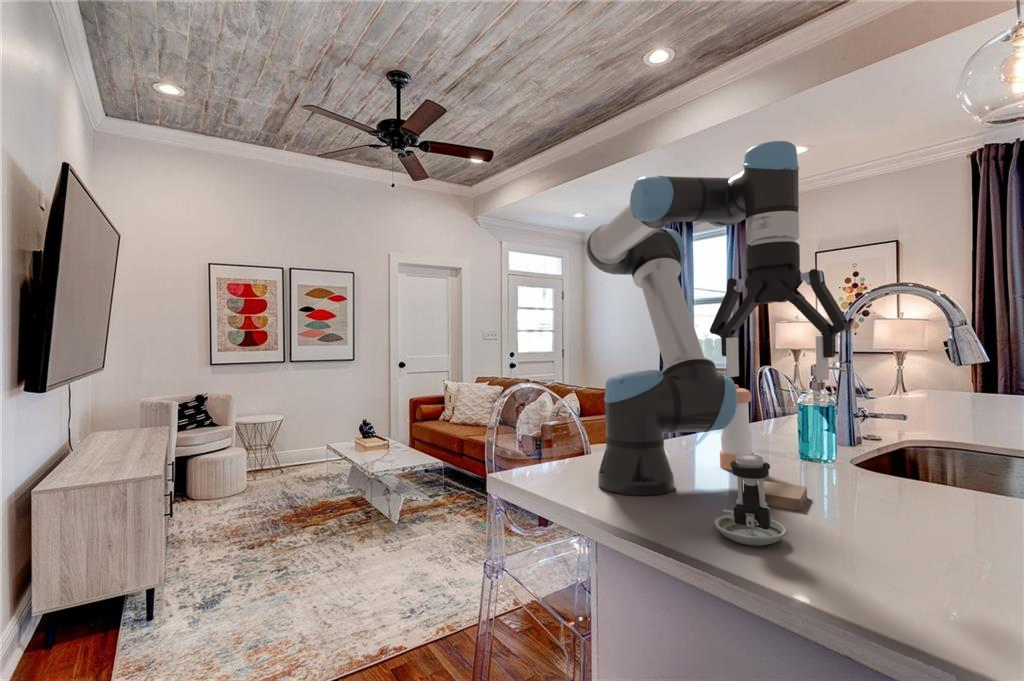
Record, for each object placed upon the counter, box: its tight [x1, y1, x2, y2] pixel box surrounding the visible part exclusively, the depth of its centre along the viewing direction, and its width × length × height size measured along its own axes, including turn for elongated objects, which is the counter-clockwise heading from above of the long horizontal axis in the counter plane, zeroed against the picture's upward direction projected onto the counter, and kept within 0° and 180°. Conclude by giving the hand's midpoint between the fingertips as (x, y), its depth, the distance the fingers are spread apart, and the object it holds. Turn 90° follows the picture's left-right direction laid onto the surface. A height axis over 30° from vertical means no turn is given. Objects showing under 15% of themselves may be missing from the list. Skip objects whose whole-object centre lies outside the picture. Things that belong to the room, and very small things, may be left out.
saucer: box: [714, 513, 787, 547], centre depth 75 cm, size 10×10×2 cm
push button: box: [722, 454, 772, 530], centre depth 75 cm, size 7×5×10 cm
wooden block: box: [757, 480, 808, 512], centre depth 93 cm, size 9×9×2 cm
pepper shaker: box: [719, 384, 755, 471], centre depth 117 cm, size 7×7×19 cm
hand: (774, 378), depth 80 cm, fingers open, 13 cm apart
